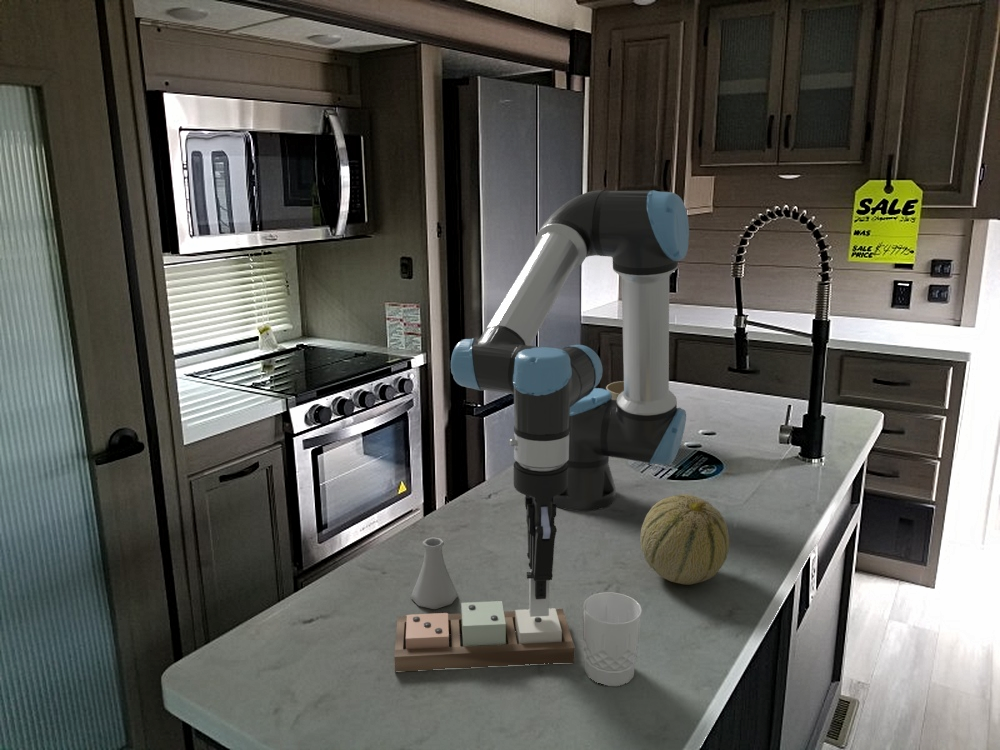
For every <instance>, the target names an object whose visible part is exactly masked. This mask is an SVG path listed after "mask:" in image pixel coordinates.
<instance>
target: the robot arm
mask: <svg viewBox="0 0 1000 750" xmlns="http://www.w3.org/2000/svg"><path fill="white" fill-rule="evenodd" d="M689 225H690V224H689V217H688V212H687V207H686V206H685V203H684V201H683V199H682V198H681V196H679V195H678V194H676V193H675V192H672V191H669V192H668V191H657V190H654V189H653V190H605V189H604V190H603V189H602V190H600V189H599V190H598V189H597V190H592V191H588V192H584V193H582V194H580V195H577V196H576V197H574V198H571V199H570V200H568V201H567V202H565V203H564V204H563V205H561V206H560V207H558V209H556V210H555V211H554V212H553V213H552V214H550V216H549V217H548V218H547V219H546V220H545V221H544V223H543V224H542V225H541V227H540V228H539V230H538V232H537V233H536V236H535V241H534V243H535V248H534V249H533V251H532V253H531V254H530V256H529V258H528V259H527V261H526V262H525V264H524V266H523V268H522V269H521V271H520V272H519V274H518V275H517V277H516V279H515V281H514V282H513V284H512V286H511V287H510V289H509V290H508V292H507V293H506V295H505V296H504V299H503V300H502V302H501V303H500V305H499V307H498V308H497V310H496V311H495V313H494V315H493V317H491V320H490V321H489V323H488V325H487V326H486V328H485V329H484V331H483V332H482V334H481V335H480V337H479V339H476V338H473V337H472V338H464V339H461V340H460V341H459V342H458V343H456V345H455V346H454V349H453V351H452V354H451V360H450V372H451V374H452V376H453V380H454V381H455V383H456V384H457V385H459V386H461V387H465V388H469V389H472V390H473V389H474V390H477V391H480V392H481V391H485V392H497V393H504V394H511V395H513V418H514V420H513V423H514V424H513V432H514V434H513V436H514V438H510V439H509V445H510V446H512V447H513V458H514V460H515V462H514V463H513V487H514V488H515V490H516V491H517V492H518V493H519V494H522V495H524V506H525V510H526V523H527V526H526V529H527V553H526V556H527V558H528V559H529V563H528V567H529V569H530V571H527V572H526V579H527V580H528V581H529V582H528V583H529V584H528V585H529V587H528V588H529V589H528V590H529V591H528V595H529V596H528V597H529V598H528V609H529V613H530V617H536V616H549V608H550V581H552V580H553V569H554V555H555V542H556V541H555V540H556V539H555V538H556V535H557V529H558V528H557V527H556V525H555V518H556V517H557V507H558V508H560V509H565V510H568V511H576V512H579V511H580V512H583V511H584V512H587V511H588V512H590V511H598V510H602V509H606V508H608V507H610V506H611V505H612V504H614V503H615V501H616V493H617V489H616V483H615V481H614V478H613V474H612V471H611V467H610V465H609V464H610V463H609V462H610V461H609V457H611V458H616V459H621V460H622V459H623V460H627V461H634V462H641V463H646V464H648V465H652V464H653V465H660V466H661V465H662V466H669V465H670V464H672V463H673V462H674V461H675V459H676V457H677V454H678V452H679V450H680V447H681V444H682V440H683V437H684V434H685V433H684V432H685V427H686V422H687V412H686V410H685V409H683V408H681V407H678V406H677V405H678V404H677V401H678V400H677V397H676V396H677V395H675V394H674V393H673V392H672V391H671V390H669V388H670V386H669V385H670V382H669V381H670V378H669V377H670V369H669V368H670V366H669V365H670V363H669V362H670V276H671V275H672V273H674V272H675V271H676V270H677V269H678V267H679V262H680V260H684V259H685V257H686V256H687V253H688V250H689V239H690V226H689ZM592 256H593V257H594V256H599V257H610V258H612V270H613V271H614V272H615V273H616V274H617V275H618V276H620V278H621V308H622V309H621V313H622V316H621V318H622V353H623V354H622V355H623V356H622V357H623V358H622V359H623V361H622V362H623V381H624V391H623V392H621V393H620V394H619V395H618V397H617V400H612V395H611V392H610V391H609V390H606V388H601V387H600V388H599V387H598V388H597V386H598V385H599V384H600V381H601V380H602V377H603V365H602V363H603V362H602V361H601V358H600V357H599V355H598V354H597V352H595V351H594V349H592V348H590V347H589V346H587V345H583V344H572V345H569V346H565V347H563V348H556V347H550V346H549V347H548V346H547V347H545V346H535V345H532V344H533V342H534V340H535V338H536V336H537V335H538V333H539V331H540V329H541V327H542V326H543V324H544V322H545V320H546V319H547V316H548V314H549V313H550V311H551V309H552V308H553V305H554V304H555V302H556V300H557V298H559V295H560V293H561V291H562V289H563V288H564V285H565V284H566V282H567V280H568V279H569V277H570V275H571V273H572V271H573V270H574V269H576V268H578V267H580V266H581V265H582V264H583V263H584V261H585V260H586V258H588V257H592Z"/></svg>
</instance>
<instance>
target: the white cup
mask: <svg viewBox="0 0 1000 750" xmlns="http://www.w3.org/2000/svg"><path fill="white" fill-rule="evenodd" d="M642 612H643V609H642V606H641V604H640V603H639V601H637V600H636V599H634V598H633V597H631V596H628V595H626V594H623V593H619V592H610V591H608V592H607V591H606V592H605V591H604V592H598V593H594V594H591V595H590V596H588V597H587V598H586V599H585V600H584V602H583V603H582V622H583V623H582V626H583V627H582V630H583V631H582V633H583V635H582V636H583V637H582V638H583V652H584V672H585V673H586V675H587V677H588V678H589V679H590V678H591V679H592V680H591V679H590V680H591V681H593V680H594V681H595V683H596V682H597V683H596V684H598V683H601V684H605V685H608V686H607V687H620V685H621V686H623V685H626V684H628V683H629V682H630V681H631V680H632V679H634V675H635V665H636V659H637V656H638V649H639V642H640V631H641V624H642V622H641V621H642V614H643V613H642ZM594 681H593V682H594ZM625 683H626V684H625ZM601 684H600V685H601ZM605 685H604V686H605ZM612 685H614V686H612Z"/></svg>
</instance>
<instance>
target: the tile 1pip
mask: <svg viewBox="0 0 1000 750" xmlns="http://www.w3.org/2000/svg"><path fill="white" fill-rule="evenodd" d="M556 609H557V608H555V607H553V608H550V607H549V616H536V617H530V613H529V608H528V609H515V610H514V611H515V631H516V632H515V635H516V640H517V644H526V643H547V642H562V630H561V626H560V623H559V619H558V616H557V612H556Z"/></svg>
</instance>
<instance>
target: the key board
mask: <svg viewBox="0 0 1000 750" xmlns="http://www.w3.org/2000/svg"><path fill="white" fill-rule="evenodd" d="M555 609H556V612H557V616H558V619H559V623H560V626H561V630H562V642H547V643H526V644H518V642H517V636H516V632H515V610H509V611H504V616H505V623H506V644H496V645H476V646H461V636H460V635H462V615H461V613H460V612H459V613H448V629H449V634H451V635H450V645H451V646H449V647H443V648H423V649H406V648H405V647H406V623H407V615H399V616H397V618H396V619H397V620H396V631H395V632H396V634H395V642H394V643H395V644H394V658H393V659H394V673H395V672H396V671H418V670H433V669H445V668H471V667H488V666H508V665H525V664H529V665H530V664H544V663H545V664H548V663H549V664H553V663H574V664H575V652H576V651H575V649H576V647H575V644H574V642H573V639H572V634H571V632H570V628H569V625H568V621H567V618H566V616H565V612H564V609H563V608H555ZM404 646H405V647H404ZM418 672H419V671H418Z"/></svg>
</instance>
